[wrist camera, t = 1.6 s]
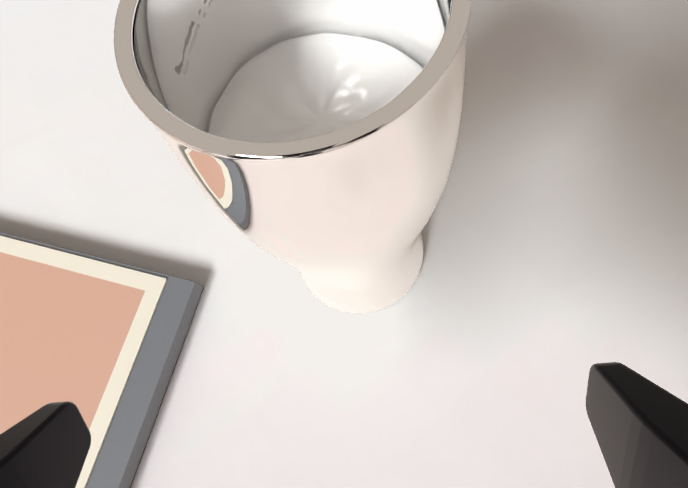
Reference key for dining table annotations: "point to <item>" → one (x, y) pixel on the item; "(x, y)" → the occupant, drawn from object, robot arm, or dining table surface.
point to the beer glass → (309, 124)
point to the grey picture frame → (90, 346)
